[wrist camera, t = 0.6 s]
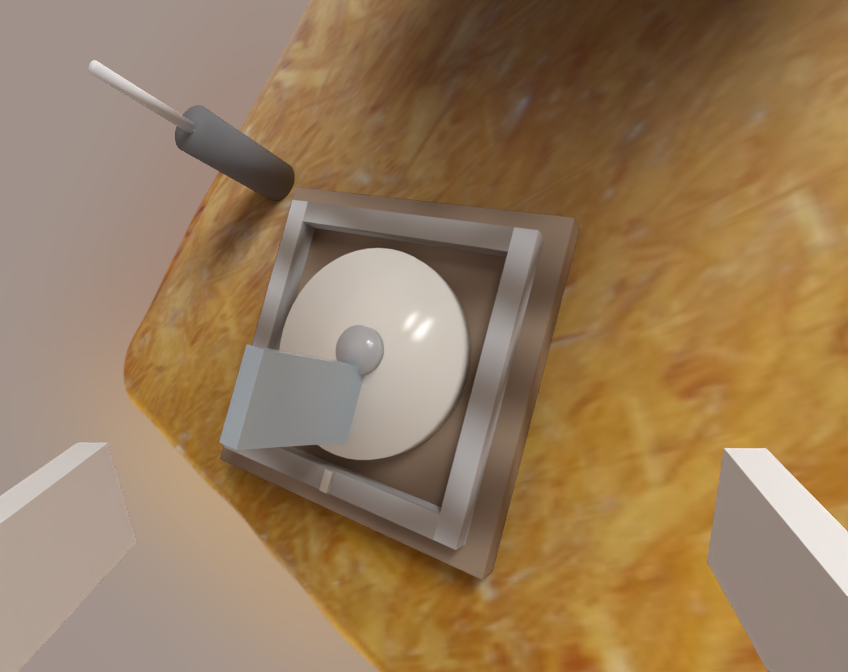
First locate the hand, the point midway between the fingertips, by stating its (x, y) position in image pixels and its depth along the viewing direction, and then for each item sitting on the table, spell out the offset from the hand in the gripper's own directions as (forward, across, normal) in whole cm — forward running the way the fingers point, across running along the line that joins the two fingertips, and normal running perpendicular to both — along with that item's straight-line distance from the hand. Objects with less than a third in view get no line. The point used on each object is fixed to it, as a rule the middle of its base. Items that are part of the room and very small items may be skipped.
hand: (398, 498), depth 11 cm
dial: (+23, -6, -5) cm, 24 cm away
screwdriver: (+35, -16, +6) cm, 39 cm away
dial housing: (+25, -5, -6) cm, 26 cm away
